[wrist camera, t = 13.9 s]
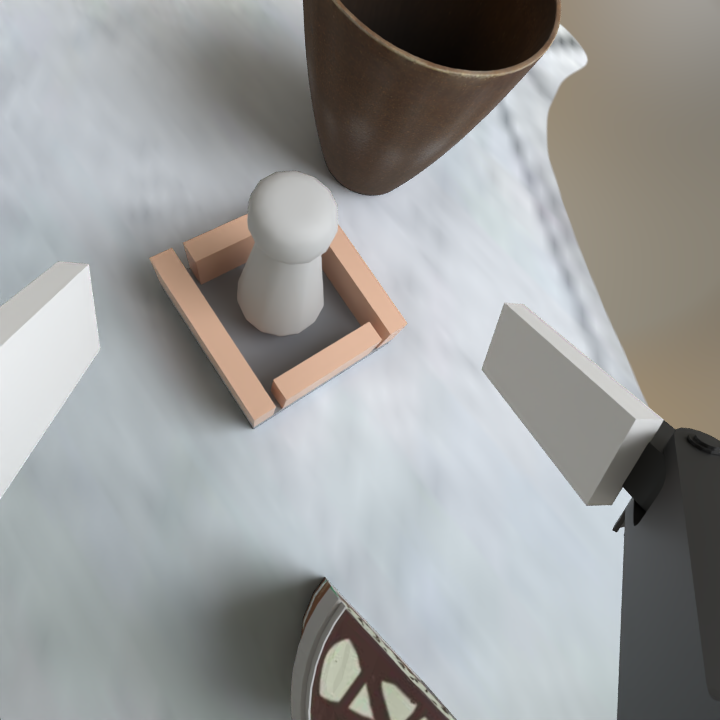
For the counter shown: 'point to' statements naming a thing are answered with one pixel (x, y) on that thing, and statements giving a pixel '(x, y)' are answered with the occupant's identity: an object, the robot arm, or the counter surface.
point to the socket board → (266, 351)
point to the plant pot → (413, 77)
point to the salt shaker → (287, 252)
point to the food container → (353, 669)
